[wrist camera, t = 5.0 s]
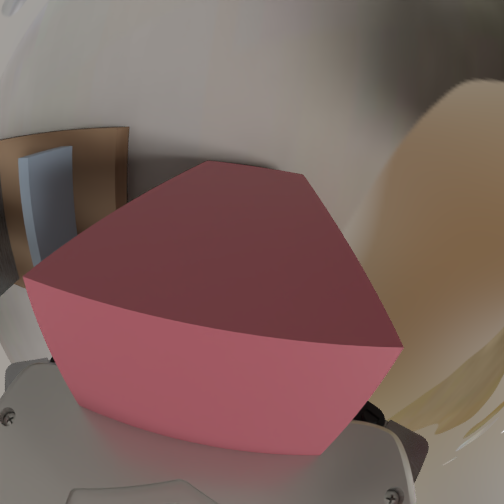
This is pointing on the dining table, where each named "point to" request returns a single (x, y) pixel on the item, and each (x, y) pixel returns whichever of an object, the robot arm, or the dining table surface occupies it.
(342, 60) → the dining table surface
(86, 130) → the shelf board
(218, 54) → the dining table surface
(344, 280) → the red block
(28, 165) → the divider
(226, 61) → the dining table surface
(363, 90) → the dining table surface
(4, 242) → the bookend
